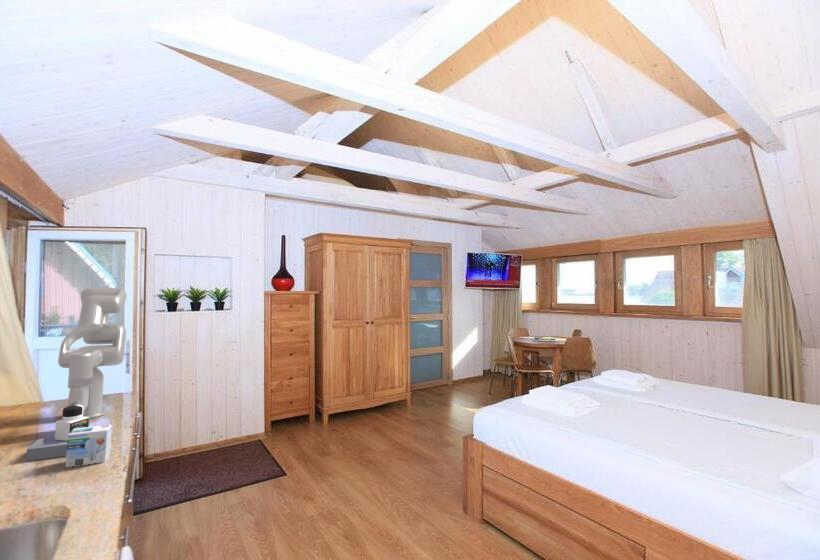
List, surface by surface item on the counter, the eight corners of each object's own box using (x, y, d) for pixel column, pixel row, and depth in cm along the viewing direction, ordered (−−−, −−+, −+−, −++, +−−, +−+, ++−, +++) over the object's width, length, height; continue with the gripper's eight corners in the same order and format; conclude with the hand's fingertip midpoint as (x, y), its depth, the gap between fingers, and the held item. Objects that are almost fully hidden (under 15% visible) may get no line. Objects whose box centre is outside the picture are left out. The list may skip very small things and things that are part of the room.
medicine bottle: (69, 441, 144) (71, 409, 144) (54, 439, 145) (56, 408, 146) (88, 434, 151) (90, 404, 151) (74, 433, 152) (75, 402, 153)
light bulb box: (64, 468, 123) (66, 434, 123) (71, 460, 129) (73, 428, 129) (106, 462, 128) (107, 430, 128) (110, 454, 134) (112, 423, 134)
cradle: (37, 450, 136) (37, 439, 136) (87, 444, 142) (88, 433, 142) (25, 461, 127) (26, 449, 127) (80, 454, 134) (80, 442, 134)
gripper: (73, 379, 161) (71, 423, 160) (62, 387, 148) (59, 435, 147) (96, 378, 164) (94, 421, 164) (87, 385, 151) (84, 432, 151)
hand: (77, 427), depth 155 cm, fingers closed
